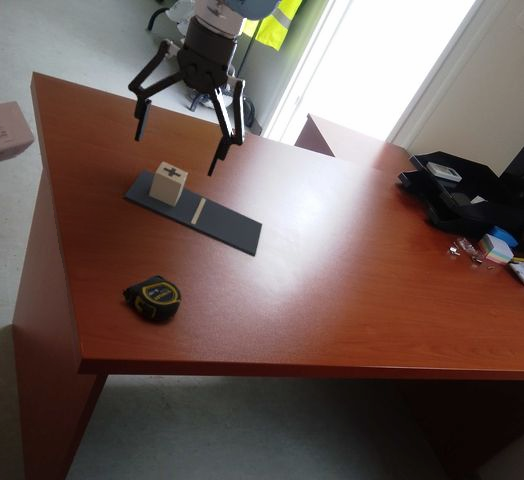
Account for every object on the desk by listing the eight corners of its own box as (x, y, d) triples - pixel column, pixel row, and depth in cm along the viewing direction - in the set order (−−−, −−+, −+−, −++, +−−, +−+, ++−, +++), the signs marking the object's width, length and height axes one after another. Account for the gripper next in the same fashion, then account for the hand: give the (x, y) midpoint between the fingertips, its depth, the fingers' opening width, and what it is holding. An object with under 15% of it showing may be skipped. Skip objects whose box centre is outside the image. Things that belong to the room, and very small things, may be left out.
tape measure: (154, 286, 71) (160, 268, 68) (185, 314, 70) (192, 297, 67) (119, 301, 66) (125, 282, 63) (152, 332, 65) (159, 313, 62)
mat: (123, 198, 82) (124, 195, 82) (143, 171, 91) (143, 168, 90) (254, 256, 88) (255, 253, 87) (261, 226, 96) (262, 223, 96)
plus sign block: (148, 195, 85) (155, 171, 82) (156, 184, 89) (163, 160, 85) (174, 207, 86) (181, 183, 83) (180, 195, 90) (188, 172, 86)
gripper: (126, -17, 62) (99, 130, 76) (289, 73, 68) (235, 195, 82) (143, -22, 68) (114, 116, 82) (291, 62, 73) (241, 178, 87)
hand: (174, 156), depth 82 cm, fingers open, 13 cm apart
